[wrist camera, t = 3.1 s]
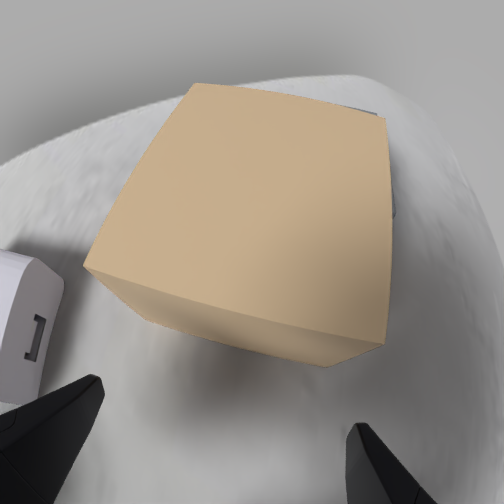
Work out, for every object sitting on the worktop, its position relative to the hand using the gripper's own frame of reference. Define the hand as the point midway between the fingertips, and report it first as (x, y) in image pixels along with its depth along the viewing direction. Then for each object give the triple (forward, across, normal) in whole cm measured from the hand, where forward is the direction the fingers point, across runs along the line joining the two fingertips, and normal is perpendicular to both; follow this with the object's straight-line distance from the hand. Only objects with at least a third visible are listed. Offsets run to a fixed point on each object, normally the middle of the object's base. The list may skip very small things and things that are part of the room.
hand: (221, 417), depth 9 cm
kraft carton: (+12, 0, -2) cm, 12 cm away
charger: (+5, +20, +5) cm, 21 cm away
